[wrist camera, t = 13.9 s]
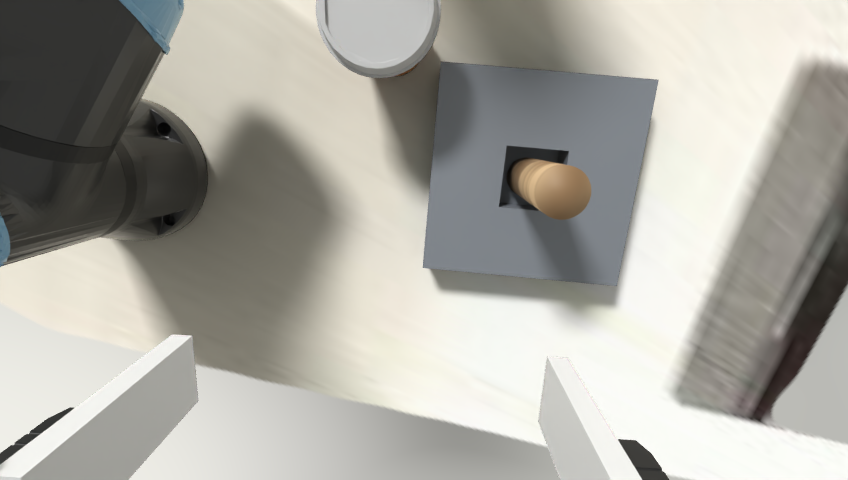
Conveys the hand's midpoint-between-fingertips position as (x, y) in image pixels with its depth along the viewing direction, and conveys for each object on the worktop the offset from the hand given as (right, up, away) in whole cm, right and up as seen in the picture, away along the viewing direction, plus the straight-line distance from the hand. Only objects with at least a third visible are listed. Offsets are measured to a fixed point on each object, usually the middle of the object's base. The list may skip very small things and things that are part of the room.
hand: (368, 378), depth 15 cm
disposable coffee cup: (-1, +25, +27) cm, 37 cm away
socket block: (+13, +12, +29) cm, 34 cm away
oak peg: (+13, +12, +29) cm, 34 cm away
